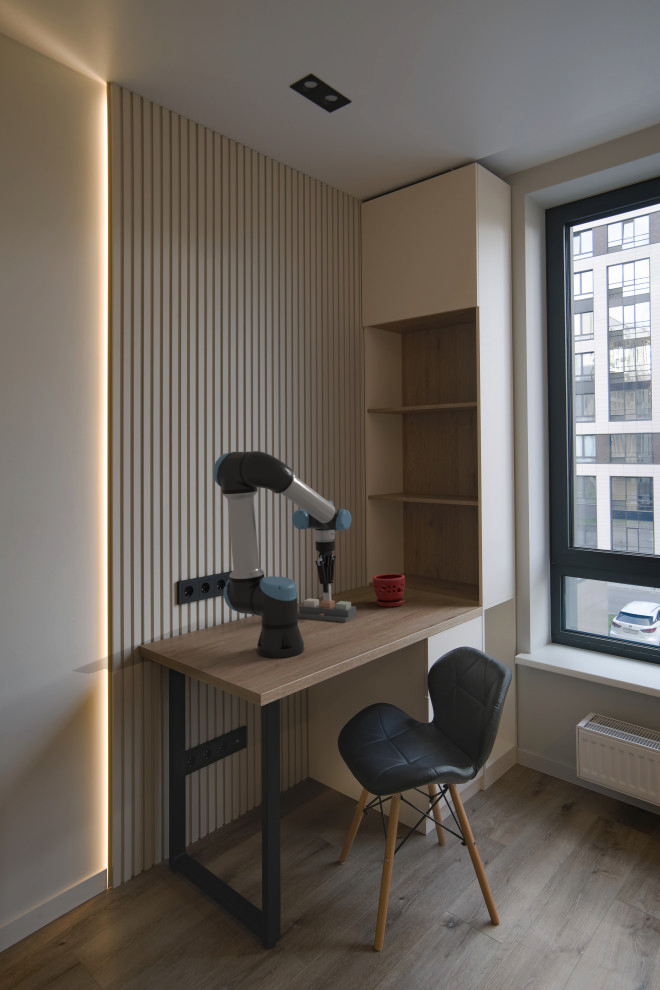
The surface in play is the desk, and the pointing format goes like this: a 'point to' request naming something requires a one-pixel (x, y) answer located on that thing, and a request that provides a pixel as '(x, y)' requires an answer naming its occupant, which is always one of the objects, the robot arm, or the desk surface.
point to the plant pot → (389, 589)
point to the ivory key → (311, 602)
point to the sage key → (343, 605)
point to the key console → (327, 613)
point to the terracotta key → (327, 604)
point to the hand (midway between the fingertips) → (327, 600)
